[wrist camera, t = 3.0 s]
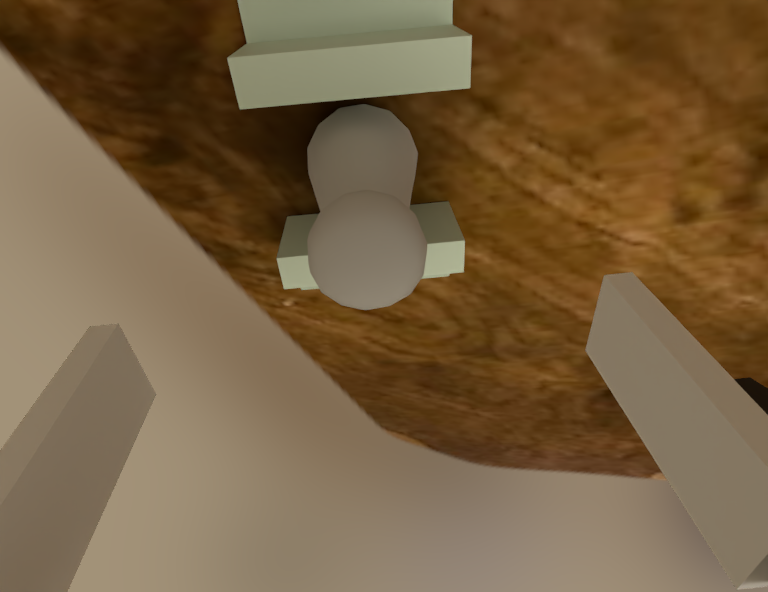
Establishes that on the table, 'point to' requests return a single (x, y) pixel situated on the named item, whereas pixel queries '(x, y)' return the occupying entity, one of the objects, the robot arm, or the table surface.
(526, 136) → the table surface
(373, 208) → the salt shaker
